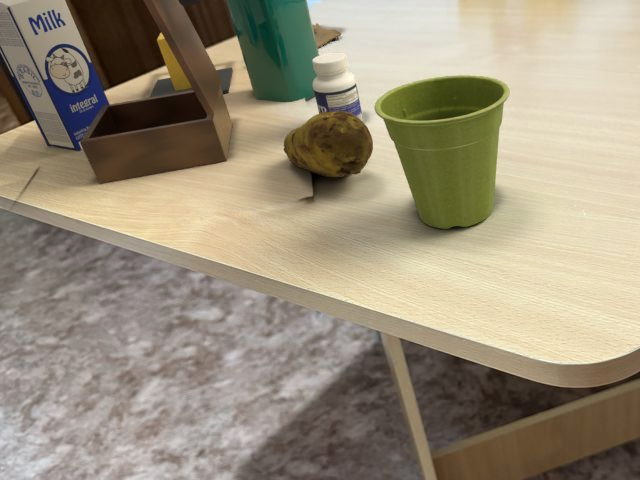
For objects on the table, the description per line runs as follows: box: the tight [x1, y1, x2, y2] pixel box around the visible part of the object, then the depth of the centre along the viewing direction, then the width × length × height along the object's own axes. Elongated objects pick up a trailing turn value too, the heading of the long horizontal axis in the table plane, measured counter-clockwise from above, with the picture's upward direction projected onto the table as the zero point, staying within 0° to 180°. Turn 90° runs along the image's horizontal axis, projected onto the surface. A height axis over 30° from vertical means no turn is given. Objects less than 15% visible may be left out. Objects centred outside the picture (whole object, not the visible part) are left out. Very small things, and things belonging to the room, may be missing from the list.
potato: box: [283, 111, 374, 178], centre depth 73 cm, size 8×13×8 cm, turn 24°
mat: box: [148, 67, 234, 98], centre depth 108 cm, size 12×12×1 cm
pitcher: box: [226, 0, 320, 103], centre depth 93 cm, size 10×8×22 cm
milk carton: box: [0, 0, 110, 152], centre depth 87 cm, size 7×7×20 cm
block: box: [156, 32, 192, 91], centre depth 105 cm, size 4×4×8 cm
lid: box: [143, 0, 222, 116], centre depth 77 cm, size 15×13×5 cm
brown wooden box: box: [80, 87, 234, 185], centre depth 84 cm, size 15×13×6 cm
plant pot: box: [373, 74, 511, 230], centre depth 63 cm, size 12×12×11 cm
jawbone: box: [312, 22, 342, 49], centre depth 118 cm, size 9×20×2 cm, turn 161°
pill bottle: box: [312, 52, 366, 125], centre depth 84 cm, size 5×5×9 cm
